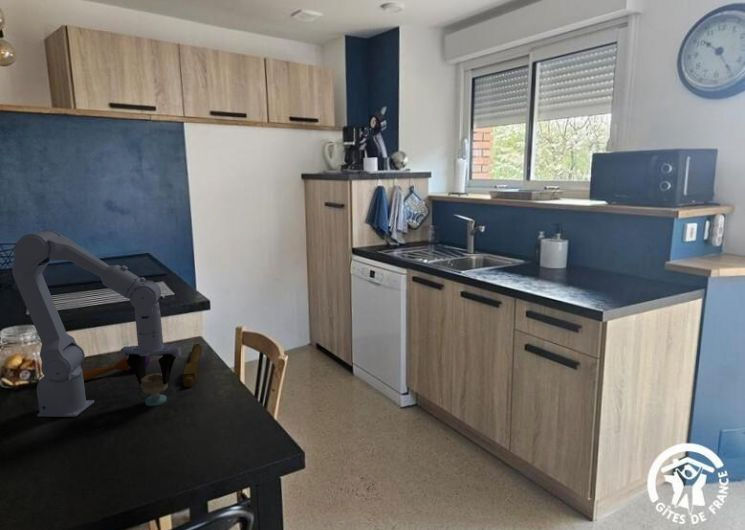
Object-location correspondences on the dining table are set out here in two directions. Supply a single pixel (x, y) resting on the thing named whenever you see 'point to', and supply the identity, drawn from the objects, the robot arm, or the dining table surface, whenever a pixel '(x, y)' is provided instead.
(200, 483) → the dining table surface
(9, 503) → the dining table surface
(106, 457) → the dining table surface
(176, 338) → the dining table surface
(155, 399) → the toy mushroom
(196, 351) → the wooden baluster
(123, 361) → the kendama
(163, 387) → the ring
